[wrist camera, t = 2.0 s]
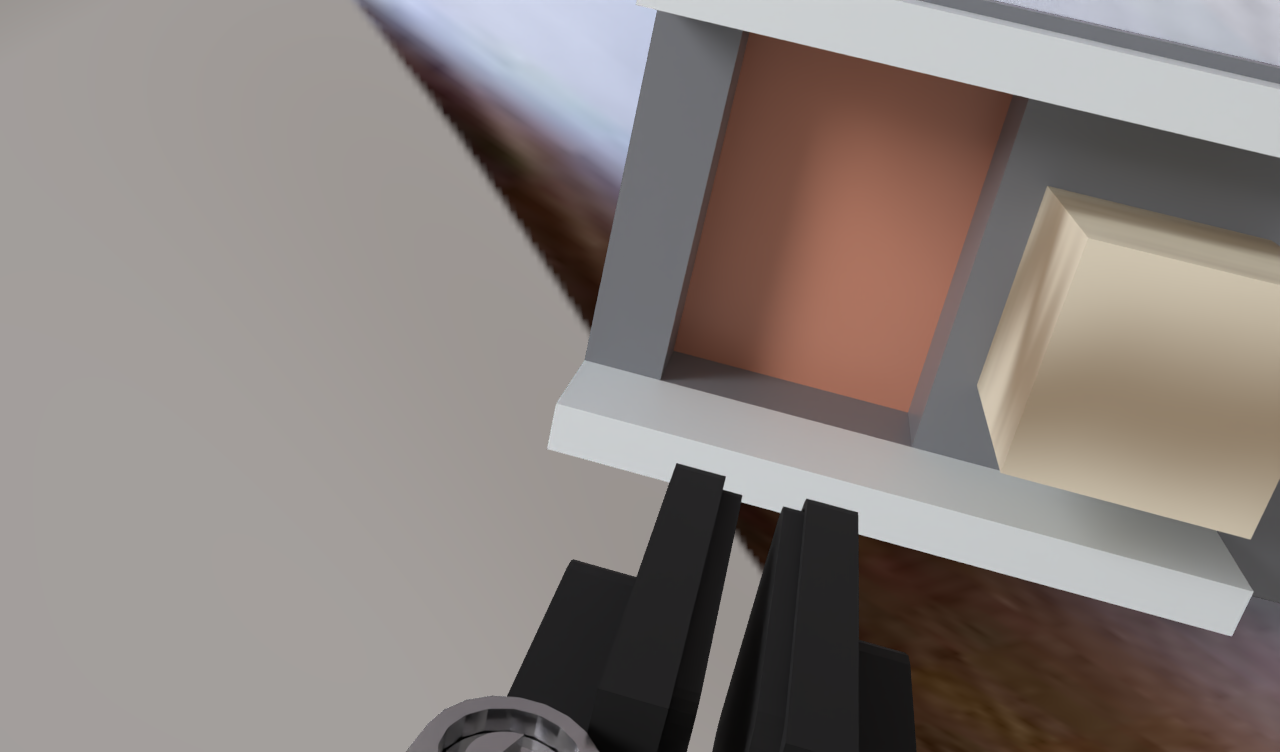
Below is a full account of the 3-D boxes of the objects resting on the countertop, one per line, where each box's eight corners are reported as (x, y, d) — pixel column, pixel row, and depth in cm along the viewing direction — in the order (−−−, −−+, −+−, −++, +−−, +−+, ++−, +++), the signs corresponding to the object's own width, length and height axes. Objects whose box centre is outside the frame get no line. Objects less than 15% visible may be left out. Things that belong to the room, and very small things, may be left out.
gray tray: (594, 378, 32) (544, 460, 27) (689, -70, 28) (651, -73, 23) (1393, 593, 30) (1500, 722, 25) (1636, 148, 26) (1826, 198, 21)
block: (1047, 185, 26) (1088, 238, 21) (1271, 240, 25) (1363, 305, 21) (976, 385, 28) (1000, 472, 23) (1184, 439, 27) (1250, 539, 23)
